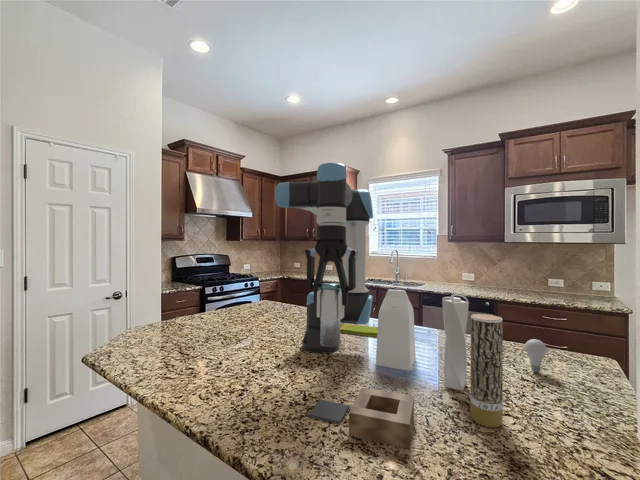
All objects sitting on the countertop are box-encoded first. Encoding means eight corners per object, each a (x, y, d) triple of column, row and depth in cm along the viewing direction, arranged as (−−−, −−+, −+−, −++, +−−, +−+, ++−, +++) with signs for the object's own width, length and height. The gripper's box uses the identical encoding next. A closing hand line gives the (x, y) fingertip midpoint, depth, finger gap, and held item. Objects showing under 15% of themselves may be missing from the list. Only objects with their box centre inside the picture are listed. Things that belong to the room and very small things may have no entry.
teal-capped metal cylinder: (317, 345, 78) (318, 284, 78) (324, 339, 82) (324, 282, 83) (336, 348, 76) (337, 286, 76) (342, 342, 80) (343, 283, 81)
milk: (415, 359, 116) (415, 289, 116) (410, 370, 105) (410, 293, 106) (383, 354, 121) (383, 287, 121) (375, 364, 111) (376, 291, 111)
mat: (308, 417, 76) (308, 414, 76) (320, 401, 84) (320, 399, 84) (340, 423, 74) (340, 421, 74) (349, 407, 81) (349, 405, 81)
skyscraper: (466, 394, 89) (467, 295, 89) (439, 387, 93) (439, 293, 93) (470, 383, 96) (470, 292, 96) (444, 378, 100) (444, 290, 100)
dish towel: (326, 324, 169) (326, 318, 169) (393, 331, 155) (393, 325, 155) (315, 331, 155) (315, 324, 155) (387, 340, 141) (387, 333, 141)
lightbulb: (543, 370, 107) (543, 337, 107) (549, 377, 101) (549, 343, 101) (522, 367, 109) (522, 336, 109) (527, 374, 103) (527, 341, 103)
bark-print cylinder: (465, 413, 79) (465, 314, 79) (490, 413, 79) (490, 313, 80) (481, 429, 72) (481, 320, 72) (509, 428, 72) (509, 320, 73)
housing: (348, 435, 69) (348, 412, 69) (361, 406, 82) (361, 387, 82) (409, 448, 65) (409, 424, 65) (413, 416, 77) (413, 396, 77)
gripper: (292, 224, 79) (291, 317, 79) (362, 223, 73) (362, 324, 72) (304, 226, 86) (303, 311, 86) (369, 225, 80) (368, 317, 80)
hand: (330, 316), depth 79 cm, fingers closed on teal-capped metal cylinder, 5 cm apart
